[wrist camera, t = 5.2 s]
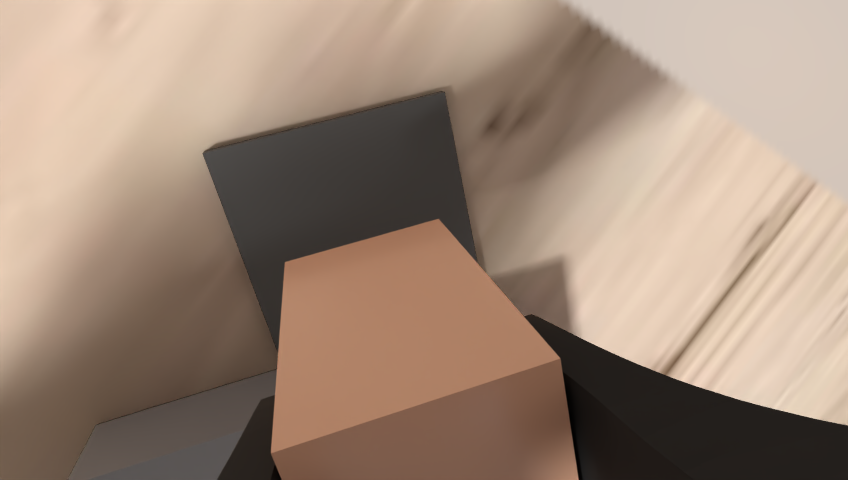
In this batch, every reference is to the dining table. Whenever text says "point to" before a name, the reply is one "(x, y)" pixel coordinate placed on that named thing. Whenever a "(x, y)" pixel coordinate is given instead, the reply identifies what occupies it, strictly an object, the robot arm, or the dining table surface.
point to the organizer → (174, 436)
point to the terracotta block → (413, 369)
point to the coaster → (338, 187)
